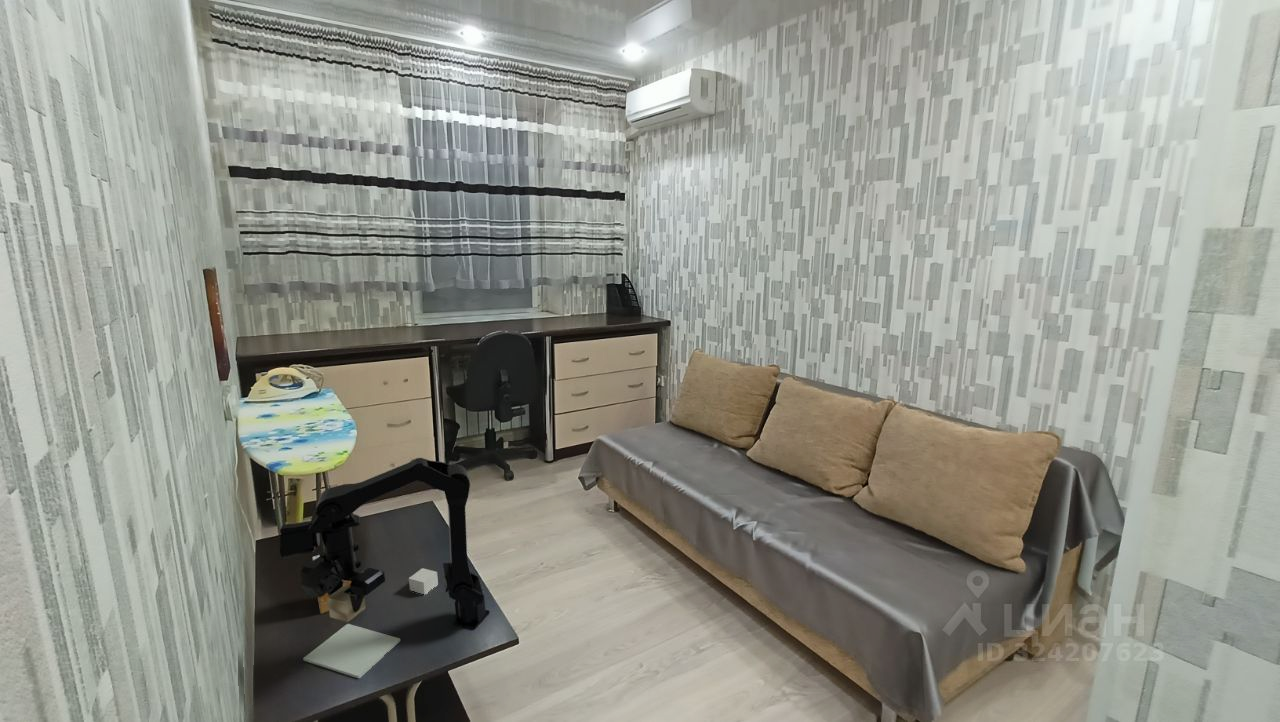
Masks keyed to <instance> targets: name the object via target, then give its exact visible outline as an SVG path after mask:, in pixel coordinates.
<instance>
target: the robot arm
mask: <svg viewBox="0 0 1280 722" xmlns="http://www.w3.org/2000/svg"><path fill="white" fill-rule="evenodd" d="M415 482H422V483H424V484H426V485H428V486H431V487H432V488H434V489H436V490H439V491H442V492H444V495H445V499H446V503H447V512H448V514H447V515H448V533H449V560H448V562H443V563H442V567H443V572H444V573H443V577H442V580H443V584H444V585H443V586H444V591H445V592H444V593H448V596H449V598H450V599H452V600H454V609H455V612H454V613H455V618H454V619H453V621H452V624H453V625H458V626H461V627H465V628H469V629H472V630H475V629H477V628H478V626H479V625H480V624H482V622H483V621H484V620H485V619H486V618H487V617H488V616H489V614H490V610H488V609H486V601H485V599H486V598H485V594H484V592H483V591H484V590H483V588H482V583H481V580H480V576H478V575H477V574H475V573H473V572H472V571H471V569H470V565H469V561H468V549H467V548H468V547H467V546H468V545H467V543H468V542H467V523H466V522H467V519H466V518H467V517H466V515H467V514H466V506H467V503H468V499H469V495H470V489H471V488H470V487H471V483H470V477H469V476H468V473H467V469H466V467H464V466H463V465H462V464H458V463H452V464H449V463H446V462H443V461H437V460H436V461H435V460H429V459H426V458H423V457H416V458H414V459H412V460H411V461H409V462H406V463H404V464H402V465H399V466H396V467H395V468H392V469H390V470H387V471H385V472H383V473H379V474H378V475H377V474H376V475H374V476H373V477H370V478H367V479H365V480H363V481H360V482H356V483H344V484H340V485H336V486H332V487H329V488H326V489H325V490H324V491H322V492H321V493H320V496H319V499H318V501H317V504H316V510H315V511H314V512H313V513H312V515H311V518H310V520H307V521H301V522H297V523H286V524H282V525H281V526H280V529H279V533H280V538H279V539H280V540H279V541H280V542H279V554H280V557H281V559H286V558H291V557H295V556H301V555H305V554H310V553H314V552H315V551H316V547H320V543H321V542H322V546H323V547H322V548H323V552H322V553H320V554H319V555H320V557H318V558H316V559H315V560H313V559H312V561H310V562H308V563H307V564H305V565H303V567H302V569H301V570H300V577H301V581H300V582H299V583H300V586H301V587H302V589H303V590H304V592H305V593H306V594H307V595H309V596H310V595H311V596H314V597H316V598H318V597H322V596H324V595H325V594H326V593H328V595H329V596H330V595H331V594H333V593H334V592H336V591H337V590H339V589H340V588H341V587H343V581H345V582H347V581H351V584H350V588H348V589H347V590H346V591H344V593H347V594H349V595H350V599H351V603H352V607H353V610H354V612H357V611H358V610H359V609H360V606H361V604H362V601H363V599H364V600H365V596H367V595H369V594H370V593H372V592H373V591H375V589H377V588H378V587H379V586H381V585H382V584H384V583H385V582H386V575H385V574H386V573H385V571H383V570H382V569H381V570H380V569H375V568H372V567H367V568H366V569H365V570H362V571H357V569H358V568H359V567H361V566H362V563H361V561H359V560H356V554H355V553H356V552H357V551H358V550H359V548H360V547H359V545H358V544H356V543H355V544H354V540H353V539H354V538H353V532H352V531H353V530H352V527H357V526H359V525H360V521H361V516H360V515H358V514H355V513H354V512H355V511H357V510H358V509H359V508H361V507H362V506H363V505H365V504H366V503H368V502H370V501H373V500H375V499H377V498H380V497H382V496H384V495H387V494H390V493H392V492H394V491H397V490H399V489H402V488H404V487H406V486H408V485H411V484H413V483H415ZM320 533H321V535H320ZM320 537H321V538H320ZM320 540H322V541H320Z"/></svg>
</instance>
